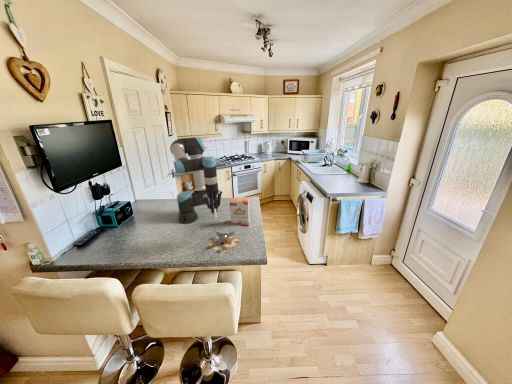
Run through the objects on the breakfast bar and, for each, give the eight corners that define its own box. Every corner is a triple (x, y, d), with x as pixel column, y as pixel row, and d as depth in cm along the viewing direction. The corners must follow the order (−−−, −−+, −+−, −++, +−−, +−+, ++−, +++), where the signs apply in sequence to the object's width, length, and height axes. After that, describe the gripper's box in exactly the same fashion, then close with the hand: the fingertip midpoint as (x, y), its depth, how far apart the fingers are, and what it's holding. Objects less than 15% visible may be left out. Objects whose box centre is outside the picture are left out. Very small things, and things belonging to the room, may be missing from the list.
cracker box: (231, 225, 154) (229, 201, 146) (232, 221, 159) (230, 197, 152) (249, 226, 152) (247, 201, 144) (250, 222, 158) (249, 198, 150)
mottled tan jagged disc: (206, 243, 133) (205, 239, 132) (227, 233, 144) (227, 229, 142) (219, 256, 121) (219, 251, 120) (242, 244, 132) (241, 240, 130)
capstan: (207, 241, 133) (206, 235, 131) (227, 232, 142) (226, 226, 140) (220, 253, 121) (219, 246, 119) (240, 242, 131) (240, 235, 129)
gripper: (204, 187, 114) (208, 222, 122) (223, 181, 121) (226, 215, 130) (198, 183, 119) (203, 218, 128) (217, 179, 127) (220, 211, 136)
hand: (215, 217), depth 129 cm, fingers closed
